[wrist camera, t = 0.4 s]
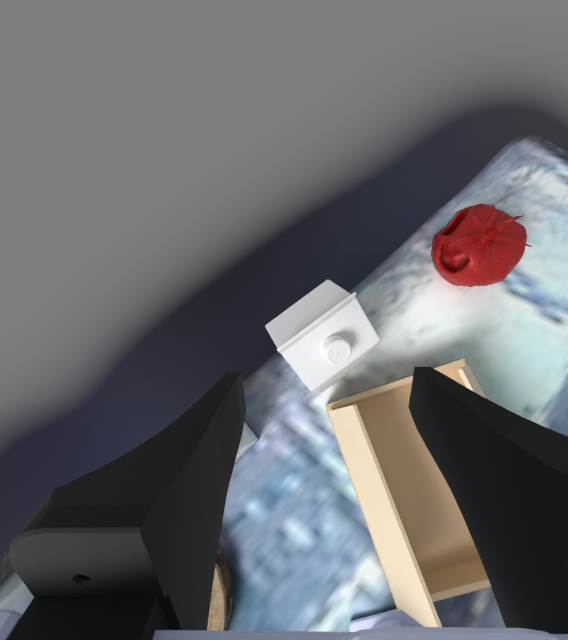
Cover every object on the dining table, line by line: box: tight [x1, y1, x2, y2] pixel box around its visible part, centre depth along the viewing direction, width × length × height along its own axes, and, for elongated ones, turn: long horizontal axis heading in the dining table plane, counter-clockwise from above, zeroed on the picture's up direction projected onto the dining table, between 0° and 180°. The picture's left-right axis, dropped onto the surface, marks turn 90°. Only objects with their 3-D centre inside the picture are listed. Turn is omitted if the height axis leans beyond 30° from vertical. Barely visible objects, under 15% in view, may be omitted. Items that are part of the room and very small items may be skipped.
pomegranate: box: [431, 204, 531, 287], centre depth 34 cm, size 10×10×9 cm
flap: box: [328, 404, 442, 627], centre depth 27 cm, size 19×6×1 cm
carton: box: [325, 358, 491, 611], centre depth 31 cm, size 20×17×4 cm
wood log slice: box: [207, 545, 233, 631], centre depth 34 cm, size 16×16×3 cm
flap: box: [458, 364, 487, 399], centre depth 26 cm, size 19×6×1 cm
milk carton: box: [265, 280, 380, 392], centre depth 29 cm, size 7×7×19 cm
